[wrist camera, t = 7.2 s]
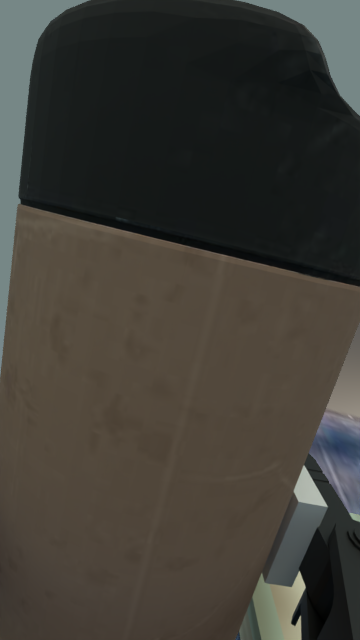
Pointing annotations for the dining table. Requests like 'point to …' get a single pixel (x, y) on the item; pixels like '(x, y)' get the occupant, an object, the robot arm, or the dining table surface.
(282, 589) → the tray
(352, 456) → the dining table surface
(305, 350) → the travel mug
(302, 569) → the robot arm
